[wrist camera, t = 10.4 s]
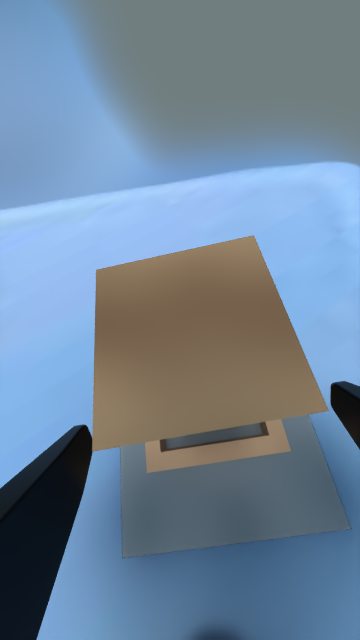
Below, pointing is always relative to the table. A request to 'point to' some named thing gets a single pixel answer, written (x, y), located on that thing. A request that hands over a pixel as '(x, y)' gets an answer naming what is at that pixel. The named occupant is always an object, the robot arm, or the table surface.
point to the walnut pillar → (194, 347)
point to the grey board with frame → (227, 488)
